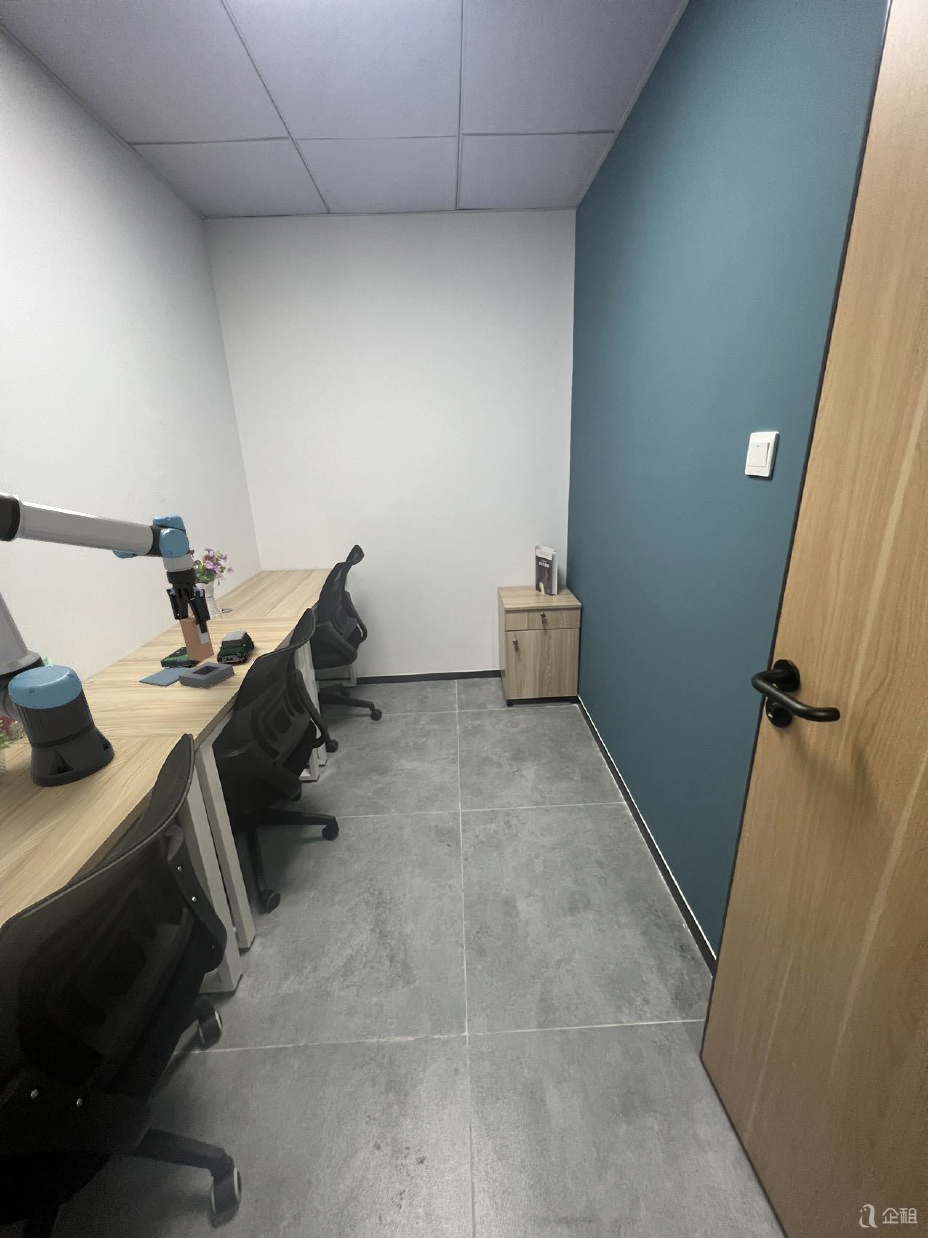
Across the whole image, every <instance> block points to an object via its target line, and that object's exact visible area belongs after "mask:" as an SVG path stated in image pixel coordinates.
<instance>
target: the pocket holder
mask: <svg viewBox="0 0 928 1238" xmlns="http://www.w3.org/2000/svg"><path fill="white" fill-rule="evenodd" d="M234 674H235V671H234V666H233V664H227V663H224V664H220V663H218V662H212V661H206V662H204V663H201V664H200V665H197V666H196V667H193V668H191V670H189V671H187V672H185V673H183V674H181V675H179V676H178V677H179V680H178V681H179V683H180V686H181V685H182V686H187V687H188V686H189V687H195V688H201V689H209V688H210V687H212V686H214V685H216V684H217V683H219V682H221V681H223V680H225V679H227V678H228V677H230V676H232V675H234Z"/></svg>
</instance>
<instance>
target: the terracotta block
mask: <svg viewBox="0 0 928 1238" xmlns="http://www.w3.org/2000/svg"><path fill="white" fill-rule="evenodd" d="M178 621H179V624H180V628H181V633H182V636H183V640H184V643H185V647H186V648H187V652H188V656H189V660H195V661H197V662H202V661H205V660H207V659H209V658H211V657H214V656H215V653H214V652H215V651H214V649H213V648H214V647H213V643H212V639H211V636H210V635H211V634H210V631H209V628H208V621H206V626H207V630H208V632H207V633H208V638H209V642H206V643H204V644H200V641H199V637H198V633H197V629H196V625H195V623H197V621H196V619H195V617H194V614H193V615H189V617H187V618H185V619H182V620H178Z"/></svg>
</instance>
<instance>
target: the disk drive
mask: <svg viewBox="0 0 928 1238" xmlns="http://www.w3.org/2000/svg"><path fill="white" fill-rule="evenodd" d="M197 662H198V661H195V660H189V656H188V652H187V648H186V646H181V647H180V648H178V649H177V650H175V651H173V652H172V653H171V654H169V655H167V656H166V657H164V658H163V659H160V665H161V668H169V667H189V666H190V667H191V666H193V665H194V664H195V663H197Z"/></svg>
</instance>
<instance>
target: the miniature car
mask: <svg viewBox="0 0 928 1238" xmlns="http://www.w3.org/2000/svg"><path fill="white" fill-rule="evenodd" d="M218 649H219V650H218V652H217V654H216V661H217V662H216V663H220V664H226V663H232V662H237V663H238V662H239V661H241V663H246V662H247V661H248V656H249V653H250V651H251V650H254V649H255V642H254V641H253V640H252V637H251V635H250V634H248V632H247V631H246V630H238V631H232V632H228V633H227V634H225V636H224V637H223V638H222V639H221V645H220V646H219V647H218Z"/></svg>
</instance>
